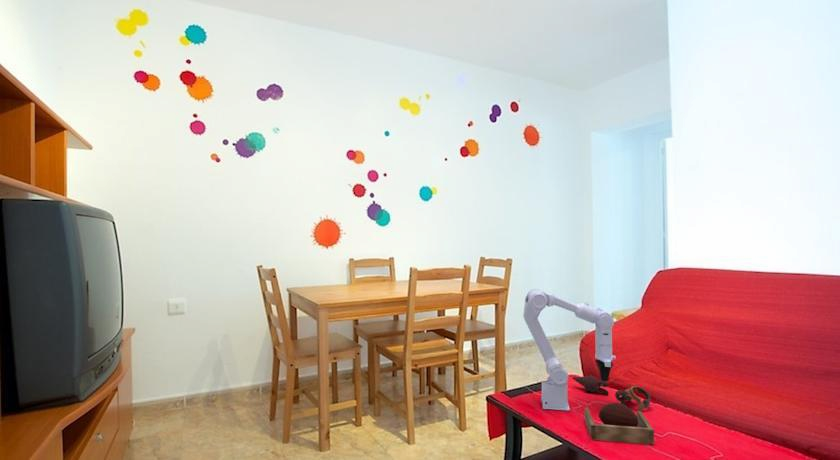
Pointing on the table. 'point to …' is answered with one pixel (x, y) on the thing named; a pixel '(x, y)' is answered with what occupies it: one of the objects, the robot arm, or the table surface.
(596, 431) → the box
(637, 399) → the brown looped piece
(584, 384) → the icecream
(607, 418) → the potato
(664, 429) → the table surface
